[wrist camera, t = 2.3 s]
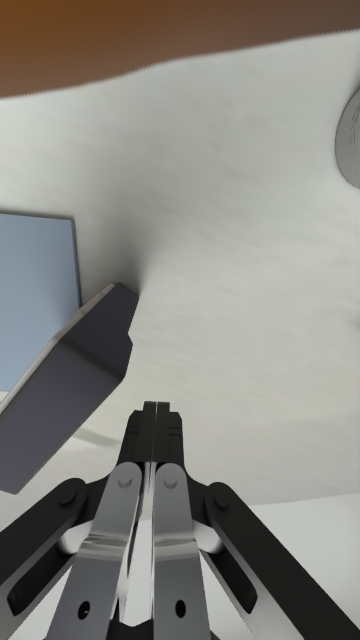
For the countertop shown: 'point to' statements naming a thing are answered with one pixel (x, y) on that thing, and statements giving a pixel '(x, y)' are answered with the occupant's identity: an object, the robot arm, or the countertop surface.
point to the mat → (34, 288)
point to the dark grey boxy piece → (65, 385)
